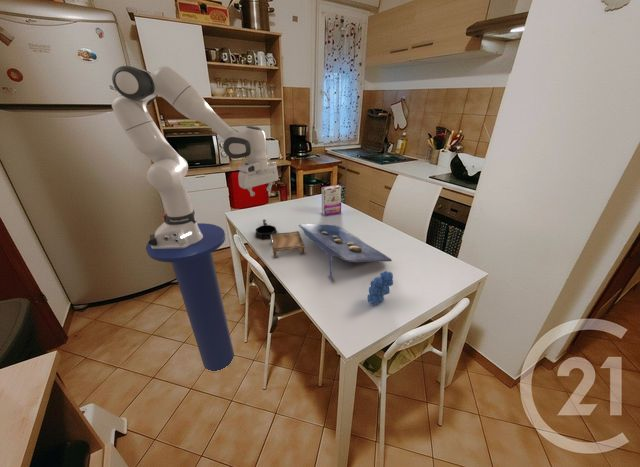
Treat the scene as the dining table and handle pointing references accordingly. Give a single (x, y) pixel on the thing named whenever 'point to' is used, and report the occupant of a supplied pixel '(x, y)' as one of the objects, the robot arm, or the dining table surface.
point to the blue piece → (341, 244)
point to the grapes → (380, 287)
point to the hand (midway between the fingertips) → (261, 193)
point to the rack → (286, 242)
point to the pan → (265, 231)
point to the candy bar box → (331, 200)
